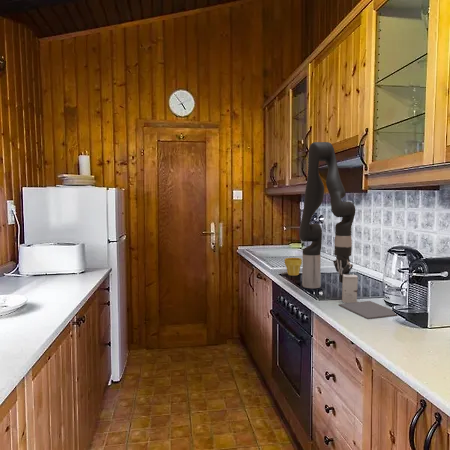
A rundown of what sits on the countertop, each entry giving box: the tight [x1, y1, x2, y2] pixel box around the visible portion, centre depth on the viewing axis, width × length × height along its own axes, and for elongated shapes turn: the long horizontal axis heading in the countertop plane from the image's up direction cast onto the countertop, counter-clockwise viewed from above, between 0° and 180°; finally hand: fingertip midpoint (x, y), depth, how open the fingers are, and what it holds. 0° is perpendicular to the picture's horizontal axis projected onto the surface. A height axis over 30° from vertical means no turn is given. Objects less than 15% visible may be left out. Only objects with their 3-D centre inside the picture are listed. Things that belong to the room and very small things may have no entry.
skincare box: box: [341, 273, 359, 304], centre depth 171 cm, size 6×4×12 cm
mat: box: [338, 300, 397, 320], centre depth 158 cm, size 20×16×1 cm
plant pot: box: [284, 257, 303, 277], centre depth 233 cm, size 10×10×10 cm
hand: (342, 282), depth 176 cm, fingers closed
